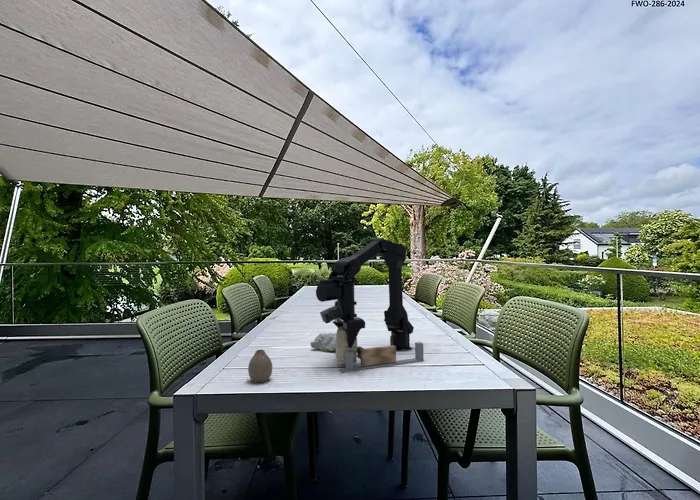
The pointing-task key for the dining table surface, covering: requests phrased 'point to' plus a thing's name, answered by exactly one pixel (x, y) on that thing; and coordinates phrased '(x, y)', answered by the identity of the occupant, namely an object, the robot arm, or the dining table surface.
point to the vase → (260, 367)
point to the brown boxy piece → (376, 355)
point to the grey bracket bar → (350, 363)
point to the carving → (344, 346)
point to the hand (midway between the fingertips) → (346, 345)
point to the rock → (325, 342)
